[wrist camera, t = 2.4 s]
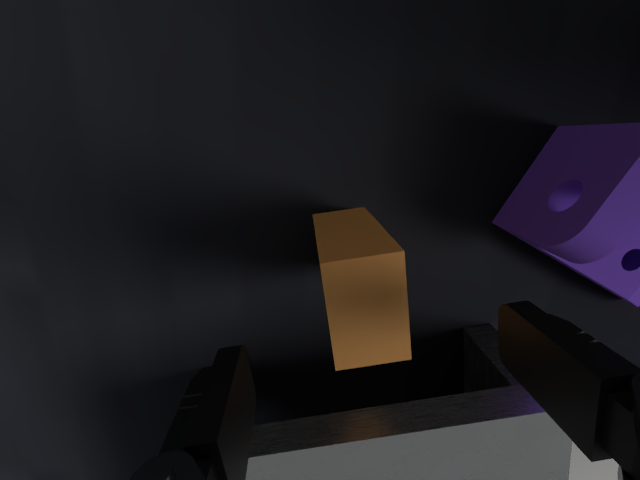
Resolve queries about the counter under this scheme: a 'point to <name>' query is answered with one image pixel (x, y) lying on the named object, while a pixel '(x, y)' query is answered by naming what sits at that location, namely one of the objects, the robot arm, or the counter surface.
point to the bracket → (584, 204)
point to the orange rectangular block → (363, 289)
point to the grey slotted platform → (424, 434)
